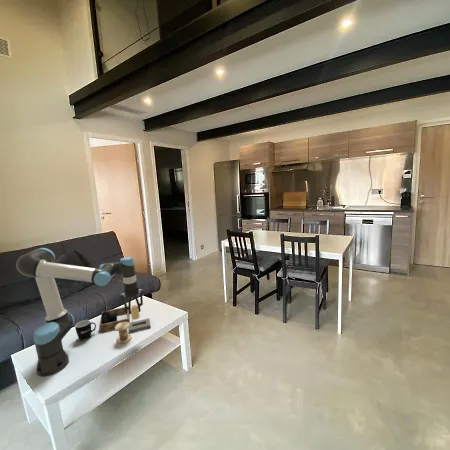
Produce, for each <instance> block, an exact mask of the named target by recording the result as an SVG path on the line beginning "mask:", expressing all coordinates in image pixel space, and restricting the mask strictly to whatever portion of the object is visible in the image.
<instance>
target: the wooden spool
mask: <svg viewBox="0 0 450 450" xmlns="http://www.w3.org/2000/svg"><path fill="white" fill-rule="evenodd" d="M130 323H131V322H130ZM130 323H129V322H121V323H119V324H117V325H116V326H115V329H114V330H115V331H117V332H118V337H117V338H116V344H120V345H122V344H126V343H129V342H130V341H131V339H132V335H131V333H129V332H128V329H129V326H130Z"/></svg>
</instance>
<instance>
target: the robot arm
mask: <svg viewBox="0 0 450 450" xmlns="http://www.w3.org/2000/svg"><path fill="white" fill-rule="evenodd" d="M55 261H56V255H55V253H54V251H52V250H51V249H50V248H47V247H40V248H36V249H33V250H31V251H30V252H27V253H25V254H23V255H21V256H20V257H18V259H17V260H16V262H15V263H16V265H15V267H16V270H17V271H18V272H19V273H20V274H21V275H23V276H26V277H29V278H30V277H31V278H34V279H35V282H36V285H37V288H38V290H39V295H40V297H41V301H42V303H43V306H44V307H43V308H44V309H45V313H46V316H45V318H44V320H45V323H43V325H41V326H39V327H38V328H36V329H35V331H34V333H33V342H34V345H35V351H36V355H37V363H36V368H35V370H36V375H38V376H40V377H48V376H51V375H53V374H56V373H58V372H60V371H62V370H63V369H64V368H66V366H67V365H68V364H69V362H70V358H69V355H68V353H67V352H66V351H65V349H64V347H63V342H62V340H63V339H64V337H66V335H67V334H68V333H69V331H71V329H72V328H73V326H74V324H75V317H74V316H73V314H72V313H70V312H69V310H68V309H66V308H64V305H63V301H62V298H61V296H60V293H59V292H60V291H59V289H58V286H57V283H56V280H55V278H56V279H65V280H71V281H72V280H73V281H80V282H87V283H94V284H95V285H96V286H99V287H104V286H106V285H108V284H109V283H110V281H111V280H112V278H114V276H118V275H122V279H123V287H124V292H123V293H120V298H121V299H122V303H123V305H124V306H123V307H125V309H128V310H129V314H130V316H131V319H132V320H133V313H132V305H131V303H132V302H131V300H132V297H134V299H135V302H136V305H137V312H138V318H139V319H140V312H141V311H142V310H141V307H142V306H143V305H144V303H143V301H144V300H143V292H144V289H143V288H142V289H141V288H139V287H138V281H137V274H136V267H135V261H134V258H133V257H132V256H125V257H122V258H119V261H117V262H108V263H107V262H105V263H102V264H100V265H99V267H98V268H96V267H89V266H88V267H87V266H80V265H75V264H64V263H58V262H55ZM138 293H139V296H140V297H139V298H138V295H137V294H138ZM126 296H127V298H128V302H127V301H126ZM139 299H140V302H139ZM127 303H128V305H127Z"/></svg>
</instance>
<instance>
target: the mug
mask: <svg viewBox="0 0 450 450" xmlns="http://www.w3.org/2000/svg"><path fill="white" fill-rule="evenodd" d="M92 325H94V328H93V329H92ZM74 328H75V332H76V335H77V337H78V340H80V341H86V340H88V339H90V338H91V336H92V333H93V332H94V331H95V330H96V328H97V324H96V323H95V322H94V321H93V322H92V321H91V320H90V319H84V320H81V321H78V322H77V323H76V324H75V325H74Z"/></svg>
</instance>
